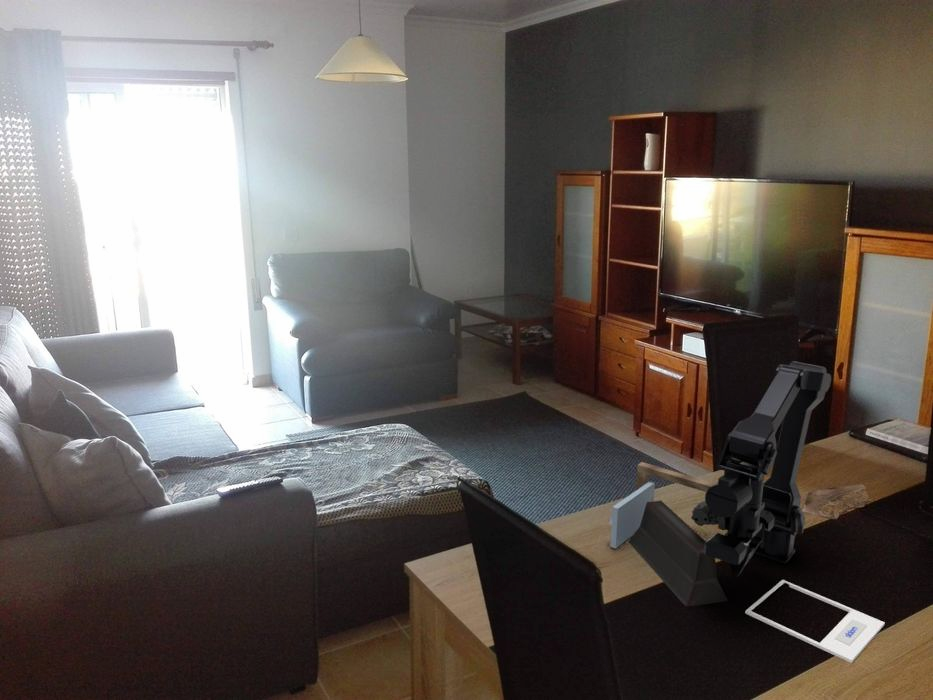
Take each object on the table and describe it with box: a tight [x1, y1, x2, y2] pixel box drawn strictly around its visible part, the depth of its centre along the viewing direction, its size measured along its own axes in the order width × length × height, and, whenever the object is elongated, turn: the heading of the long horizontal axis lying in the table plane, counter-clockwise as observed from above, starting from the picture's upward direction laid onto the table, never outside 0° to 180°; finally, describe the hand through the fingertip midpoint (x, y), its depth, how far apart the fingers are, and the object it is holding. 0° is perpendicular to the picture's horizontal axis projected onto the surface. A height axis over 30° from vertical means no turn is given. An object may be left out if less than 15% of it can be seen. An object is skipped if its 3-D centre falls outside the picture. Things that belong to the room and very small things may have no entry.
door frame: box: [635, 461, 716, 493], centre depth 159 cm, size 23×2×12 cm, turn 50°
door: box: [607, 480, 656, 549], centre depth 158 cm, size 16×3×9 cm, turn 139°
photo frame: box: [744, 579, 886, 664], centre depth 131 cm, size 15×1×18 cm
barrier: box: [627, 500, 728, 608], centre depth 145 cm, size 24×9×10 cm, turn 14°
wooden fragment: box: [802, 484, 872, 520], centre depth 175 cm, size 26×11×1 cm, turn 123°
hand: (735, 574), depth 138 cm, fingers closed
